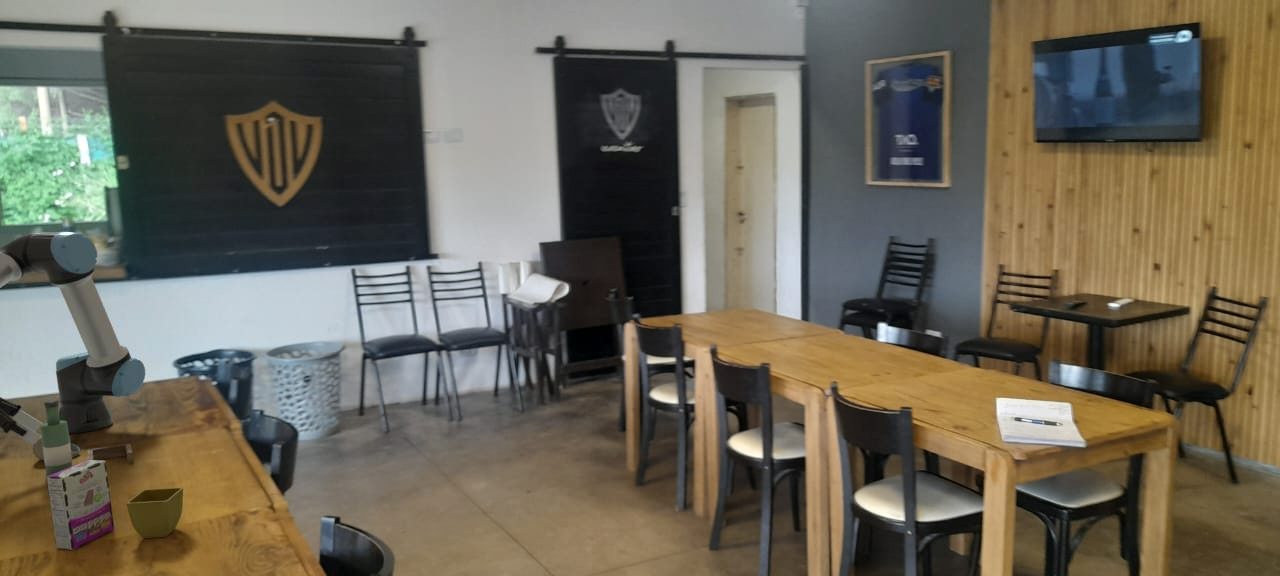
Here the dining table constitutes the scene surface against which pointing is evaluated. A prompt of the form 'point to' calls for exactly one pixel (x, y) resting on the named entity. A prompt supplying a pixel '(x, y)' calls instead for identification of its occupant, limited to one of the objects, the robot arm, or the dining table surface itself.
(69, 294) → the robot arm
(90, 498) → the candy bar box
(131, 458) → the u rest
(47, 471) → the bottle
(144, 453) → the dining table surface
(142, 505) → the flower pot
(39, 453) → the ceramic mug
